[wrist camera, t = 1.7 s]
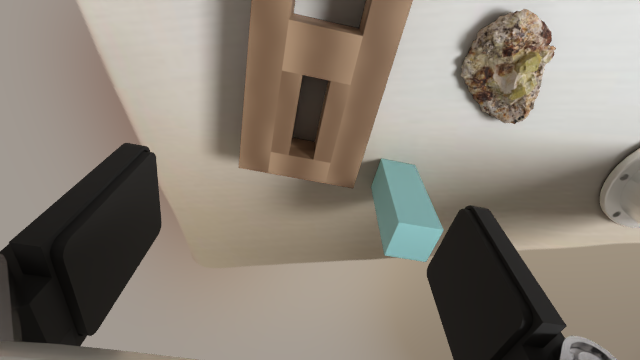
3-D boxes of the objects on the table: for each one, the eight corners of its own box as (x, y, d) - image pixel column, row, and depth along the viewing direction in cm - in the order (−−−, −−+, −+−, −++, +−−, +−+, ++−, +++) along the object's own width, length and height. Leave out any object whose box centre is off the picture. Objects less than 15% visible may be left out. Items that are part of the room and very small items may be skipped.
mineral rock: (455, 35, 28) (570, 2, 24) (453, 21, 31) (555, -10, 27) (468, 140, 33) (563, 125, 30) (466, 119, 37) (551, 104, 33)
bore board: (430, -98, 25) (446, -108, 21) (351, 168, 38) (353, 188, 34) (272, -140, 23) (263, -158, 20) (246, 149, 36) (238, 167, 33)
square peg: (414, 165, 37) (443, 230, 28) (403, 193, 39) (426, 262, 30) (381, 158, 37) (398, 222, 28) (371, 187, 39) (384, 255, 30)
